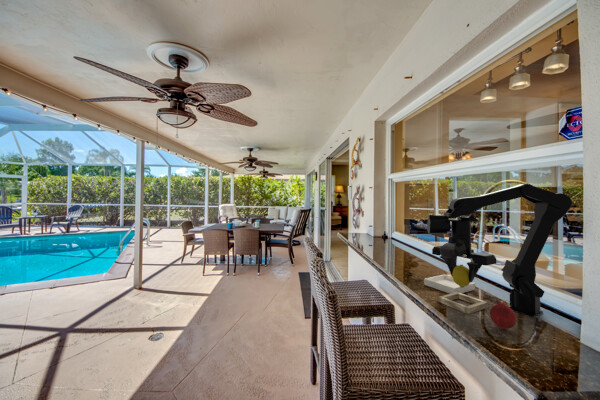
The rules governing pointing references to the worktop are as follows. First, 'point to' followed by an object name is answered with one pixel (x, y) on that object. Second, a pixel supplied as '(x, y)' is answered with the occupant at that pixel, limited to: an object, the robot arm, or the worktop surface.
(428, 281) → the dish
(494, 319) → the onion
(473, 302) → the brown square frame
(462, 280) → the lemon
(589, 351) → the worktop surface
